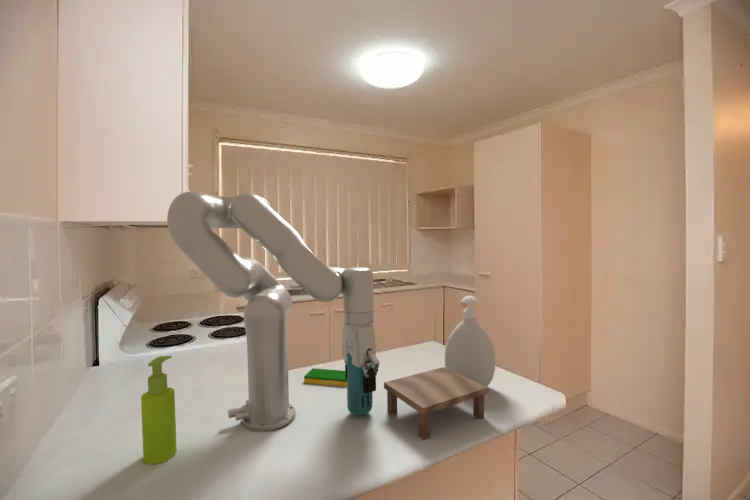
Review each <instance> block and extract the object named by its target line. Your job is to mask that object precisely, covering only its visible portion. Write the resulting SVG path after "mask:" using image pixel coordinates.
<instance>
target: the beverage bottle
mask: <svg viewBox="0 0 750 500" xmlns="http://www.w3.org/2000/svg"><path fill="white" fill-rule="evenodd" d="M365 363H369V361H368V362H365ZM370 368H371V367H370V366H369V367H367V370H369V369H370ZM364 376H365V375H364V372H363V369H362V366H361V368H357V367H356V366H354V365H353V364H352V356H351V354H349V353H348V354H347V383H346V384H347V386H346V404H347V410H348V411H349V412H350V413H351V414H353V415H354V414H355V415H365V414H368V413H369V412H371V411H372V409H373V403H374V402H373V392H370V393H366V394H365V393H364V392H363V377H364Z"/></svg>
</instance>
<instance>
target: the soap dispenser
mask: <svg viewBox="0 0 750 500" xmlns="http://www.w3.org/2000/svg"><path fill="white" fill-rule="evenodd" d="M171 358H172V355H159V356H157V357H155V358H154V359H152V360H150V362H148V364H147V365H148V367H151V368H152V374H151V375H149V376H148V377H147V391H146V392H144V393H142V394H141V396H140V405H141V409H140V410H141V426H142V427H141V429H142V431H141V432H142V454H143V458H142V459H143V462H144V463H145V464H147V465H157V464H162V463H164V462H167V461H169V460H170V459H172V458H173V457H175V455H176V454H177V429H176V427H177V425H176V424H177V423H176V398H175V397H176V395H175V392H176V391H175V389H174V388H173V387H169V386H168V375H167V374H166V373H164V372H163V363H164V362H165V361H167V360H170V359H171Z"/></svg>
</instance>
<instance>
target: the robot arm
mask: <svg viewBox="0 0 750 500" xmlns="http://www.w3.org/2000/svg"><path fill="white" fill-rule="evenodd" d="M166 217H167V218H166V223H167V229H168V232H169V235H170V237H171V239H172V240H173V242H174V243H175V245H176V246H177V247H178V249H180V251H181V252H182V253H183V254H184V255H185V256H186V257H187V258H189V260H190V261H191V262H192V263H193V264H194V265H195V266H196V267H197V268H198V269H199V270H200V271H201V272H202V273H203V275H205V276H206V278H208V280H210V282H211V283H212V284H213V285H215V287H216V288H217V289H218V290H220V291H219V292H221V293H222V294H223V295H225V296H227V297H228V298H234V299H239V298H242V297H243V298H244V299H246V300H247V303H246V305H245V308H244V310H243V311H244V312H243V323H244V328H245V329H244V331H245V336H246V337H245V338H246V351H247V356H246V357H247V382H248V383H247V386H248V391H247V392H248V399H245V404H242V405H241V406H240V407H235V408H229V409H227V417H228V419H232V418H235V419H234V420H235V421H239V420H242V424H243V426H244V427H245V428H247V429H248V430H251V431H257V432H258V431H259V432H262V431H263V432H264V431H265V432H267V431H272V430H277V429H280V428H283V427H284V426H286V425H288V424H290V423H292V421H293V420H294V419H295V418H296V409H295V406H294V405H292V404H291V403H290V394H289V393H290V390H289V389H290V387H289V386H290V385H289V383H290V382H289V352H288V351H289V350H288V332H287V318H288V316H289V314H290V313H291V311H292V308H293V299H292V296H291V293H290V292H289V291H288V289H286V287H285V286H284V285H283V284H282V283H281V282H280V281H279V280H278V279H277V278H276V277H275V276H274V275H273V274H272V273H271V272H270V271H269V270H268V269H267V268H266V267H265V266H264V265H263V264H262V263H261V262H259V261H258V260H257V259H255V258H252V257H249V256H240V255H239V254H238V253H237V252H235V250H233V248H231V247H230V245H229V244H228V243H227V242H226V241H225V240H224V239H223V238H222V237H221V236H219V235H218V234H217V233H216V232H214V231H213V230H212V229H239V230H240V229H241V230H242V231H243V232H244V233H246V234H247V235H248V236H249V237H250V238H252V240H254V241H255V242H256V243H257V244H258V245H259V247H261V248H262V249H263V250H264V251H265V252H267V254H269V255H270V256H271V257H272V258H273V259H274V261H275V262H276V264H277V265H278V266H279V267H280V268H282V270H283V271H284V272H285V274H287V275H288V277H289V278H290V279H292V280H293V282H294V283H295V284H297V286H299V287H300V288H301V289H302V290H303V291H305V292H306V293H307V295H309V296H310V297H311V298H312V299H314V300H316V301H317V302H320V303H321V302H322V303H329V302H333V301H335V300H336V299H337V298H338V297H339V296H340V295H342V296H343V297H342V298H343V301H342V303H343V306H342V307H343V326H342V337H341V339H342V340H341V342H342V344H341V355H342V358H343V361H344V366H345V367H344V371H345V378H346V379H347V354H348V353H349V354H351V356H352V364H353V365H354V366H356V367H357V368H361V366H362V369H363V372H364V375H365V376H364V377H363V392H364V393H365V394H366V393H370V392H372V393H373V392H376V390H377V375H378V372H379V366H380V360H379V359H378V358H377V349H376V348H377V347H376V337H375V336H376V334H375V328H374V324H375V312H374V311H375V310H374V309H375V308H374V307H375V305H374V274H373V270H372V269H371V268H369V267H348V268H343V267H333V266H327V265H326V264H325V263H324V262H322V261H321V260H320V258H318V257H317V256H316V254H314V253H313V252H312V251H311V249H310V248H309V247H308V246H307V245H306V243H305V242H304V240H303V238H302V236H301V235H300V233H299V232H298V231H297V230H296V229H295V228H294V227H293V226H292V225H290V223H288V222H287V221H286V220H285V219H284V218H283V217H282V216H281V215H280V214H278V213H277V212H276V211H275V210H274V209H273V208H272V205H271V204H270V202H269V201H268V200H267V199H266V198H264V197H263V196H260V195H258V194H256V193H253V192H242V193H239V194H238V195H236V196H225V195H224V196H222V195H221V196H220V195H219V196H218V195H212V194H209V193H206V192H201V191H193V190H191V191H186V192H182V193H180V194H178V195H176V197H174V198H173V200H172V202H171V203H170V205H169V208H168V211H167V215H166ZM368 361H369V363H365V362H368ZM369 366H370V367H371V368H370V369H369V370H367V367H369Z"/></svg>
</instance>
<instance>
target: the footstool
mask: <svg viewBox="0 0 750 500" xmlns="http://www.w3.org/2000/svg"><path fill="white" fill-rule="evenodd" d="M383 388H384V389H385V391H386V393H387V395H386V397H387V398H386V399H387V400H386V402H387V403H386V404H387V409H386V410H387V413H388V414H390V415H394V414H397V413H398V399H399V400H400V401H402V402H403V403H405V404H406V405H407V406H410V407H411V408H412V409H414V410H415V411H417V412H418V437H419V438H420V439H422V440H427V439H429V438H431V413H433V412H436V411H439V410H443V409H445V408H448V407H452V406H454V405H457V404H460V403H464V402H466V401H469V400H472V399H473V403H472V404H473V405H472V406H473V407H472V408H473V410H472V411H473V412H472V413H473V417H475V418H477V419H478V420H480V419H483V418H485V395H488V394H489V387H488V386H487V387H486V386H484V385H481V384H479V383H477V382H475V381H473V380H471V379H468V378H466V377H464V376H462V375H460V374H458V373H456V372H453V371H451V370H449V369H447V368H445V366H444V367H438V368H435V369H431V370H428V371H423V372H419V373H415V374H412V375H407V376H404V377H400V378H396V379H393V380H389V381H384V382H383Z"/></svg>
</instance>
